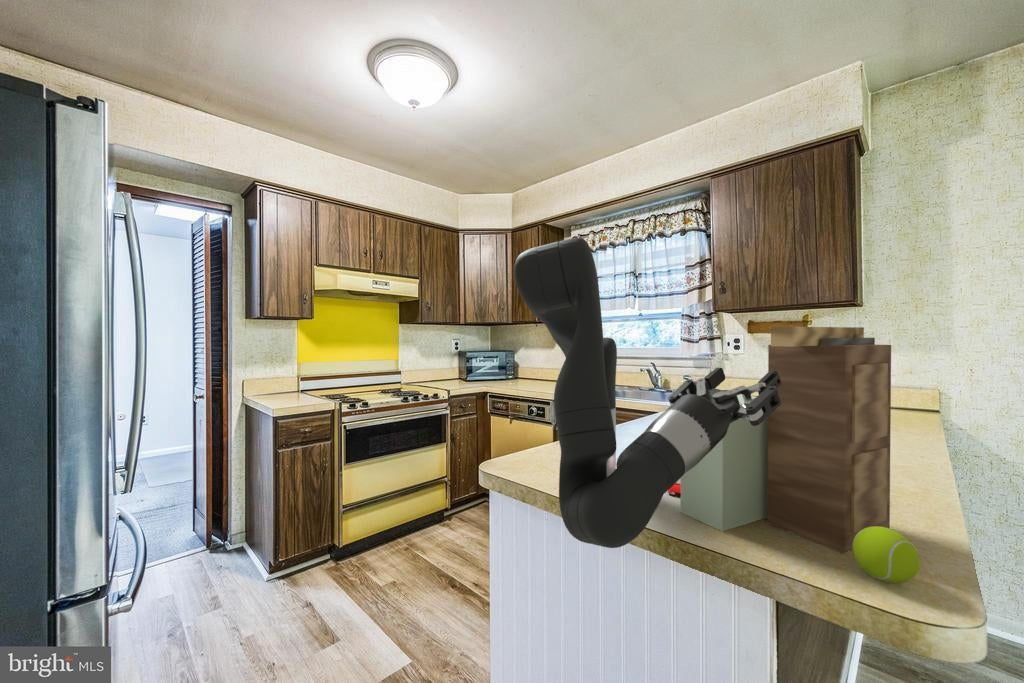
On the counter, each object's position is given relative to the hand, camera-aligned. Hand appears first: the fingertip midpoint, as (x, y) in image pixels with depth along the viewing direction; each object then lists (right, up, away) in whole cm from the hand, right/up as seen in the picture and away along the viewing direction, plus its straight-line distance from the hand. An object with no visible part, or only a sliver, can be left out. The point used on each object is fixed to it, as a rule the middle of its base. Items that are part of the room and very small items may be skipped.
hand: (747, 373), depth 65 cm
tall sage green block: (+6, -28, +16) cm, 33 cm away
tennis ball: (+16, -28, -6) cm, 33 cm away
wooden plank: (+16, +4, +7) cm, 18 cm away
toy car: (+1, -28, +30) cm, 41 cm away
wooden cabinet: (+19, -28, +10) cm, 35 cm away
